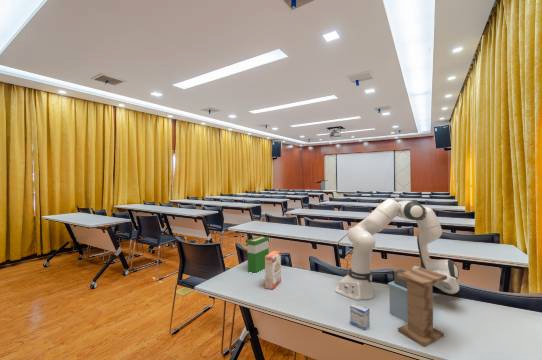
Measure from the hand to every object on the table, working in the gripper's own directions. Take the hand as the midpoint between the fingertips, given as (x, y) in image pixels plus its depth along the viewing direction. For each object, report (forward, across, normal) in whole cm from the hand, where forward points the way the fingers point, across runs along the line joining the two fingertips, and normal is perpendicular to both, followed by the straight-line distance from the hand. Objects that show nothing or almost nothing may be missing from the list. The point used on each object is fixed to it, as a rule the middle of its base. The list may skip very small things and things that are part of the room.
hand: (424, 270), depth 135 cm
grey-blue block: (+2, 0, +24) cm, 24 cm away
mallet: (+5, 0, +7) cm, 9 cm away
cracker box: (+40, -65, +46) cm, 89 cm away
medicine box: (+27, -5, +38) cm, 47 cm away
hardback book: (+37, -97, +44) cm, 112 cm away
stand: (+10, +13, +28) cm, 33 cm away
